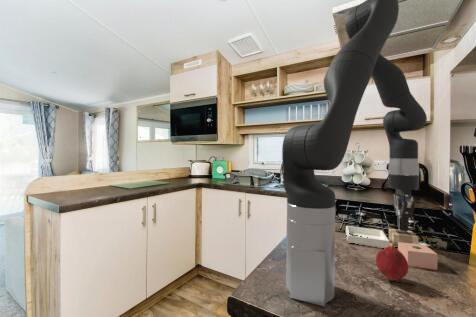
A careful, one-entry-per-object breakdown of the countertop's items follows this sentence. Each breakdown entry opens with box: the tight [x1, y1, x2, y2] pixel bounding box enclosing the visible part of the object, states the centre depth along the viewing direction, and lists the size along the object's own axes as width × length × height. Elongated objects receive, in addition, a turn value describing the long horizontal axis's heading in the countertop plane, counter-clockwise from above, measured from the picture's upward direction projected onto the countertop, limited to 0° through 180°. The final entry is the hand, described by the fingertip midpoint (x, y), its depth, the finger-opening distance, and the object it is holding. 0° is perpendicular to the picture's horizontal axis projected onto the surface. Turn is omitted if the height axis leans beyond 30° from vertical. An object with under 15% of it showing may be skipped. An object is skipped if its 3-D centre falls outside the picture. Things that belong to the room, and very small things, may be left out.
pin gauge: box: [398, 212, 407, 235], centre depth 67 cm, size 2×2×10 cm
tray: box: [345, 225, 390, 249], centre depth 71 cm, size 11×11×2 cm
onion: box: [375, 243, 409, 282], centre depth 47 cm, size 6×6×8 cm
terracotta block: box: [397, 242, 438, 271], centre depth 56 cm, size 6×6×4 cm
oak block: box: [388, 228, 419, 247], centre depth 67 cm, size 6×6×4 cm
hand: (402, 229), depth 67 cm, fingers closed on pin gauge, 1 cm apart
